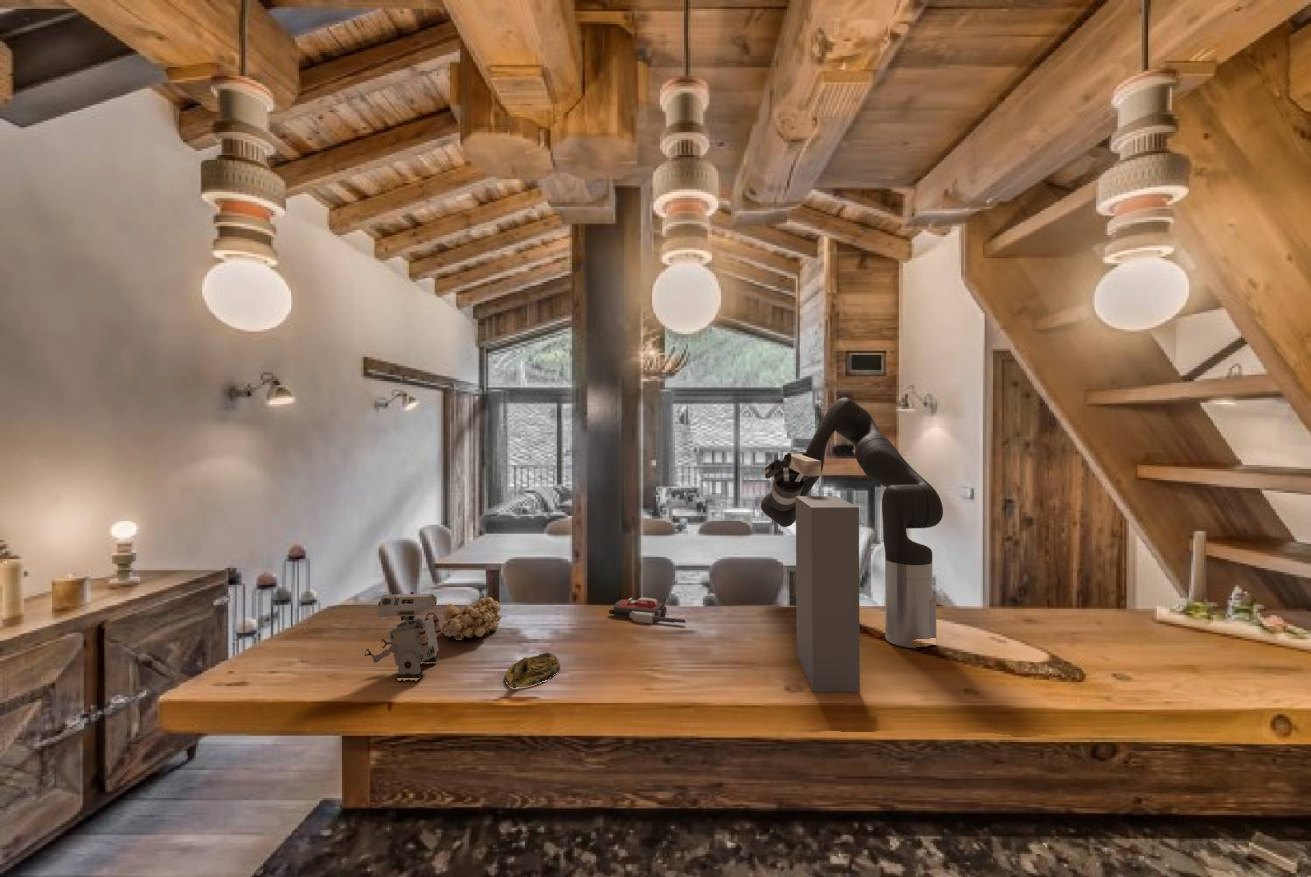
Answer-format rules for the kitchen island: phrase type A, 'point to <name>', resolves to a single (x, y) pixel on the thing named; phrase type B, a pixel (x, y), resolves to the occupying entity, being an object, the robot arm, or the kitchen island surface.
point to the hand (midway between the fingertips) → (797, 456)
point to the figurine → (410, 632)
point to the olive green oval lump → (532, 670)
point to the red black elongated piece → (642, 610)
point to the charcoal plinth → (828, 593)
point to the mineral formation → (471, 619)
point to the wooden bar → (805, 465)
